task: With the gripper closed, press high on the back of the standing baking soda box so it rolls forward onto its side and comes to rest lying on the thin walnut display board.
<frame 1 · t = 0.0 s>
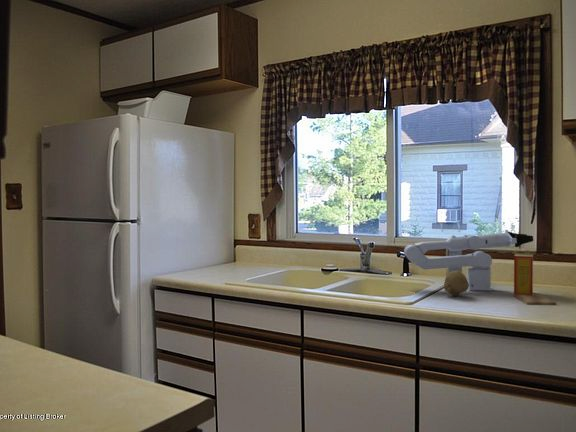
hand: (529, 237, 209), 22 cm above the table, tool horizontal, fingers open, 7 cm apart
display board: (534, 300, 189), on the table
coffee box: (453, 282, 231), on the table
baking soda box: (523, 294, 201), on the table
natural sponge: (456, 296, 198), on the table
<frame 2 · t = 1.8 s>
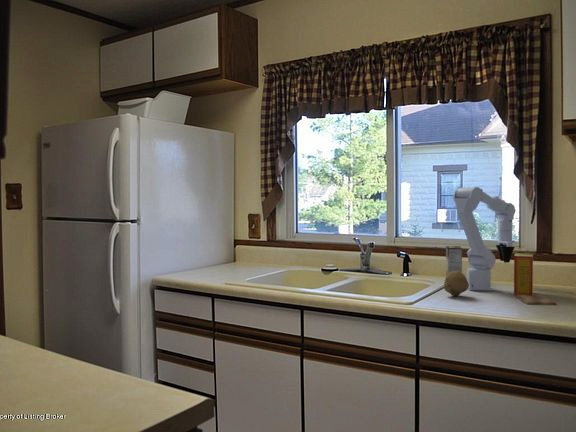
hand: (504, 261, 220), 10 cm above the table, tool pointing down, fingers open, 5 cm apart
nothing on the table moved.
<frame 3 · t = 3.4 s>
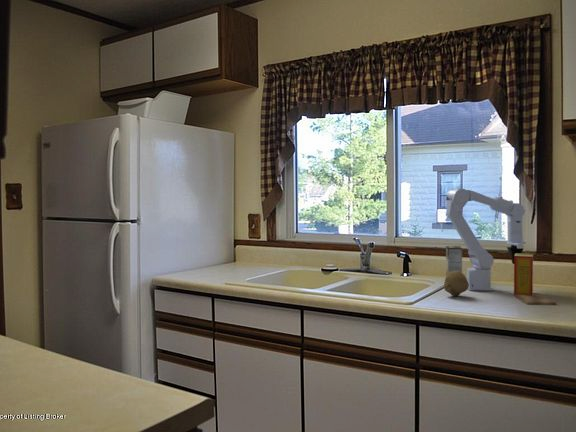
hand: (515, 263, 213), 10 cm above the table, tool pointing down, fingers closed
nothing on the table moved.
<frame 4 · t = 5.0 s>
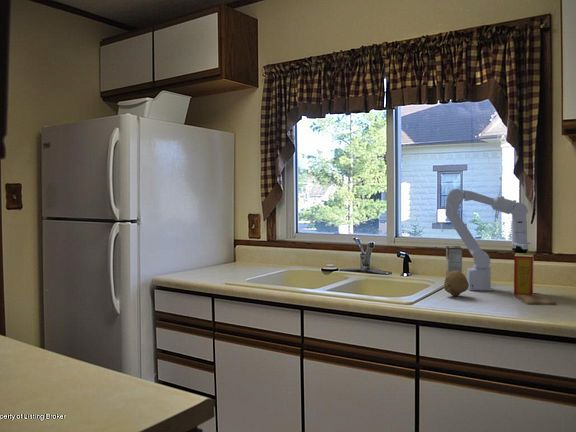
hand: (520, 265, 207), 11 cm above the table, tool pointing down, fingers closed
baking soda box: (523, 294, 201), on the table, touching gripper
everything else where it was.
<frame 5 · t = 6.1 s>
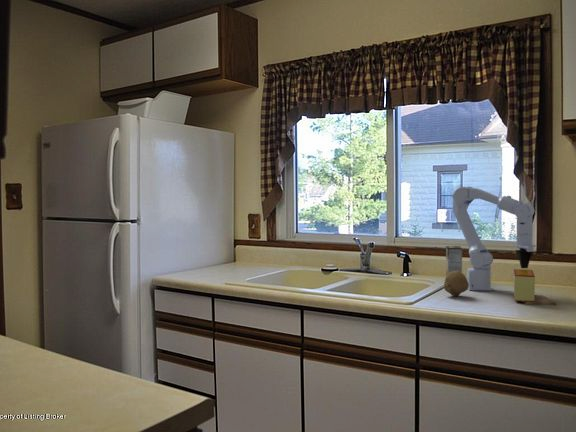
hand: (524, 268, 200), 10 cm above the table, tool pointing down, fingers closed
baking soda box: (522, 281, 198), point 6 cm above the table, touching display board
everything else where it was.
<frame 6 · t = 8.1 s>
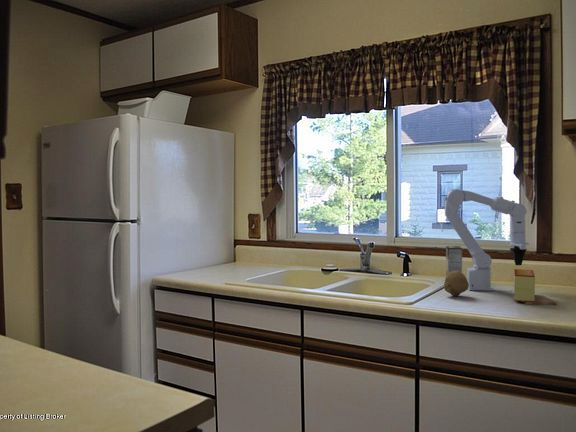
hand: (518, 265, 209), 10 cm above the table, tool pointing down, fingers closed
nothing on the table moved.
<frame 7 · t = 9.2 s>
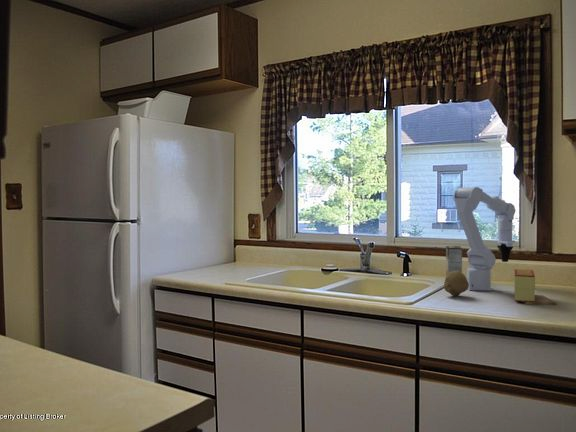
hand: (504, 261, 220), 10 cm above the table, tool pointing down, fingers closed
nothing on the table moved.
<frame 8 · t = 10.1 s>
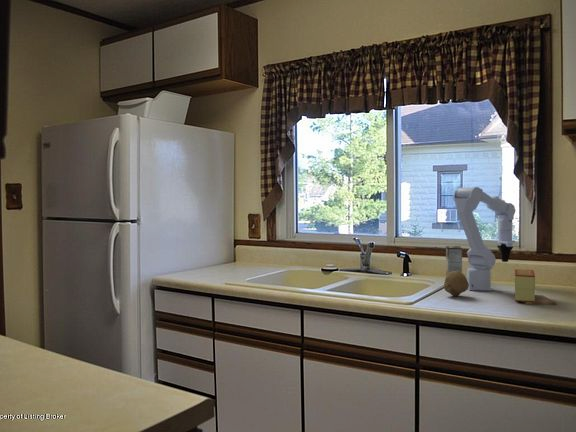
hand: (504, 261, 220), 10 cm above the table, tool pointing down, fingers closed
nothing on the table moved.
at the end: baking soda box tilted 90°; baking soda box touching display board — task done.
